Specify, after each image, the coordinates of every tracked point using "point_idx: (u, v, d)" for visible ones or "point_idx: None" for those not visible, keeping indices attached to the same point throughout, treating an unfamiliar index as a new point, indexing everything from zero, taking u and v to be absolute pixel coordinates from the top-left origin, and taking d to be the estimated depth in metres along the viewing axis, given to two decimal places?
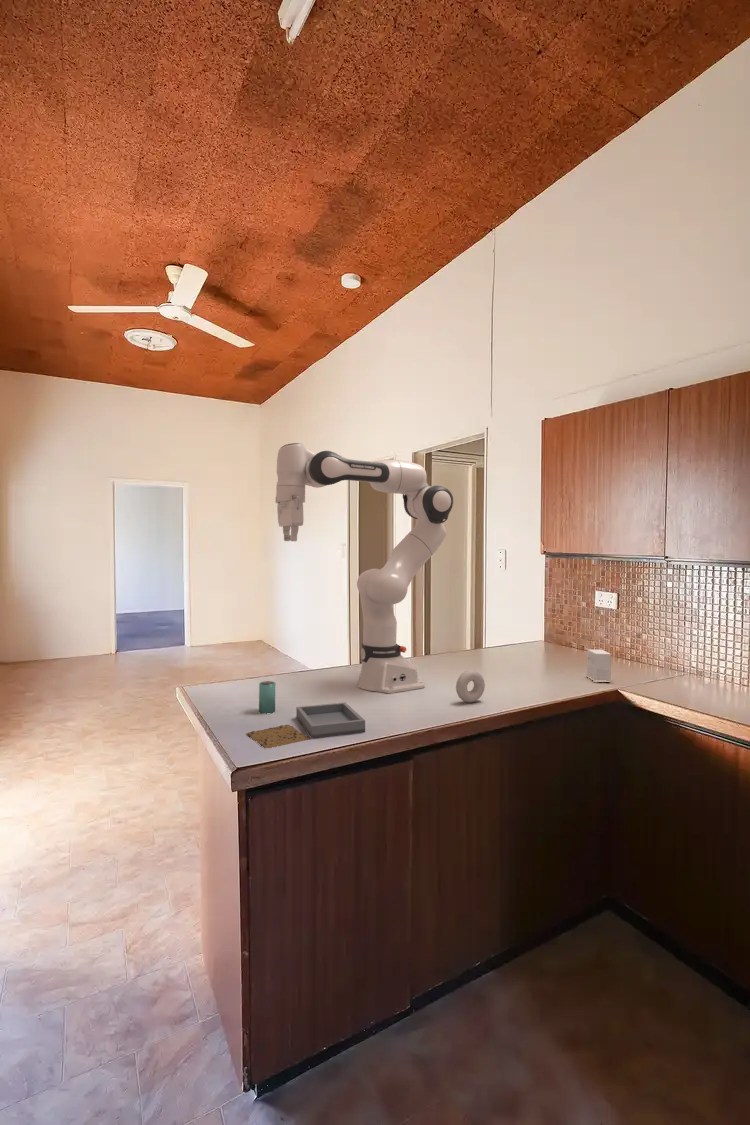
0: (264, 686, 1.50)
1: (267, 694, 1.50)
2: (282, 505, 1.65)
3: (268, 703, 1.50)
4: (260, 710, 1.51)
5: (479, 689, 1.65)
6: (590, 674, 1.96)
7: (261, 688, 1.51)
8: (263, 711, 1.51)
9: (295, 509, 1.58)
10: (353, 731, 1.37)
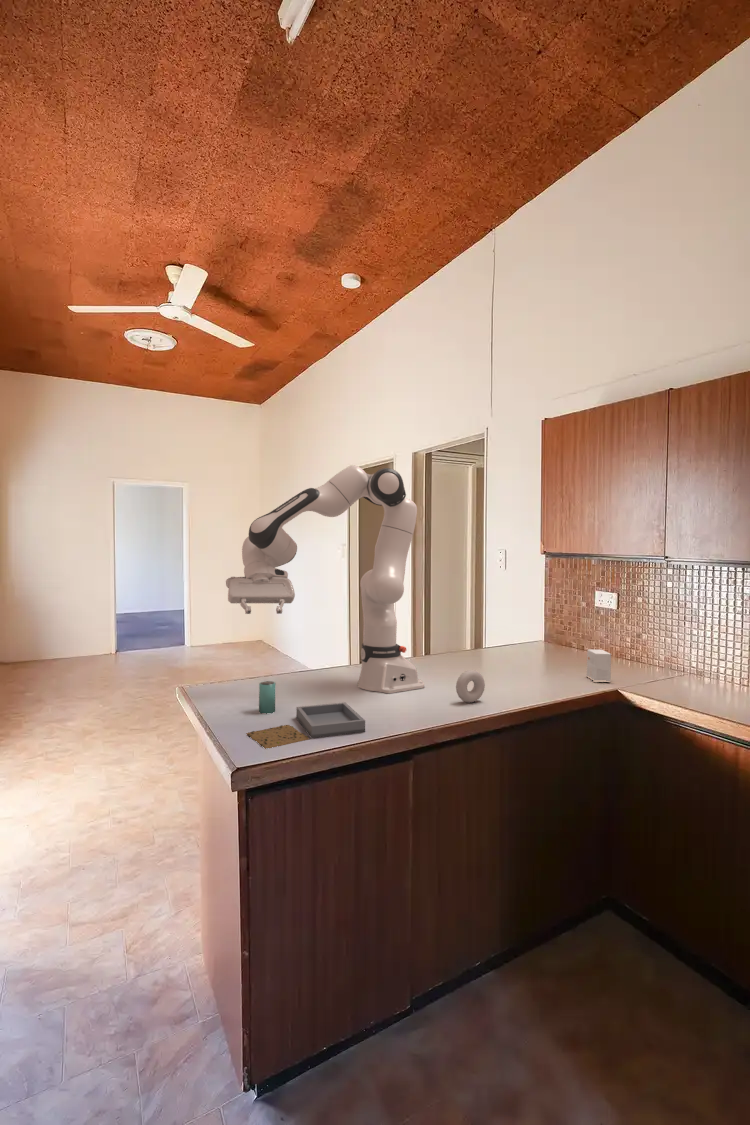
0: (264, 686, 1.50)
1: (267, 694, 1.50)
2: None
3: (268, 703, 1.50)
4: (260, 710, 1.51)
5: (479, 689, 1.65)
6: (590, 674, 1.96)
7: (261, 688, 1.51)
8: (263, 711, 1.51)
9: None
10: (353, 731, 1.37)
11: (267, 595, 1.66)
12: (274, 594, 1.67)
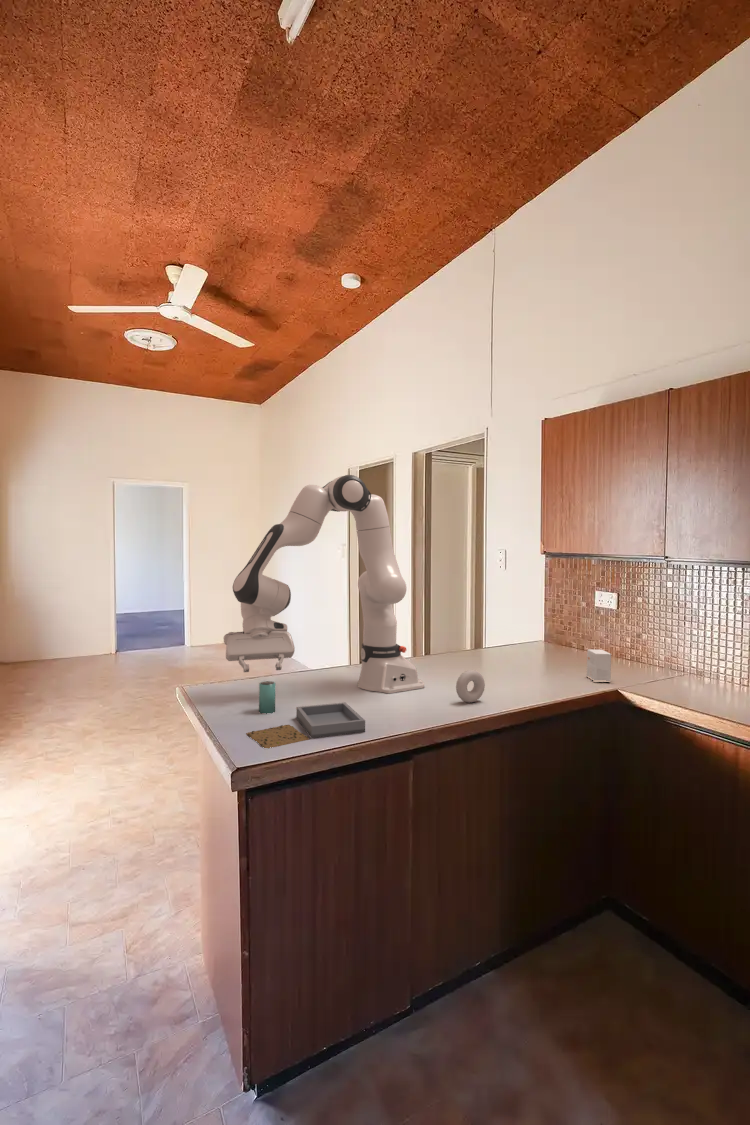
0: (264, 686, 1.50)
1: (267, 694, 1.50)
2: None
3: (268, 703, 1.50)
4: (260, 710, 1.51)
5: (479, 689, 1.65)
6: (590, 674, 1.96)
7: (261, 688, 1.51)
8: (263, 711, 1.51)
9: (226, 646, 1.61)
10: (353, 731, 1.37)
11: (266, 651, 1.61)
12: (273, 650, 1.62)
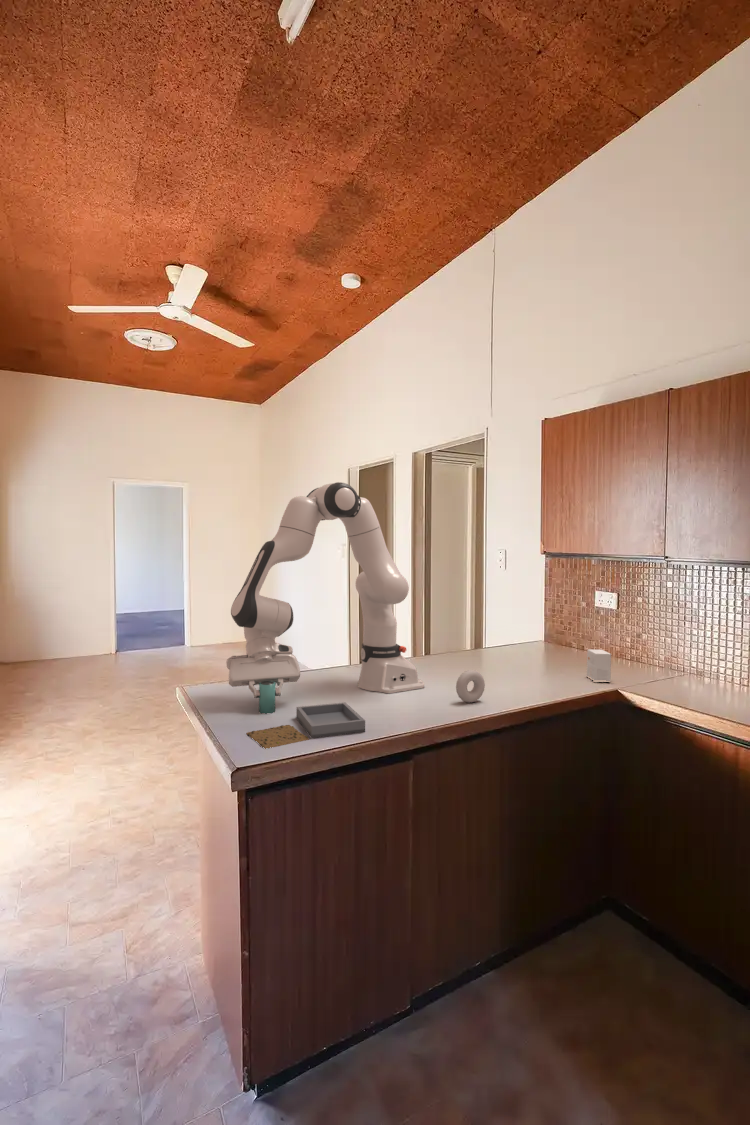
0: (264, 686, 1.50)
1: (267, 694, 1.50)
2: None
3: (268, 703, 1.50)
4: (260, 710, 1.51)
5: (479, 689, 1.65)
6: (590, 674, 1.96)
7: (261, 688, 1.51)
8: (263, 711, 1.50)
9: (229, 671, 1.55)
10: (353, 731, 1.37)
11: (270, 676, 1.54)
12: (278, 675, 1.55)
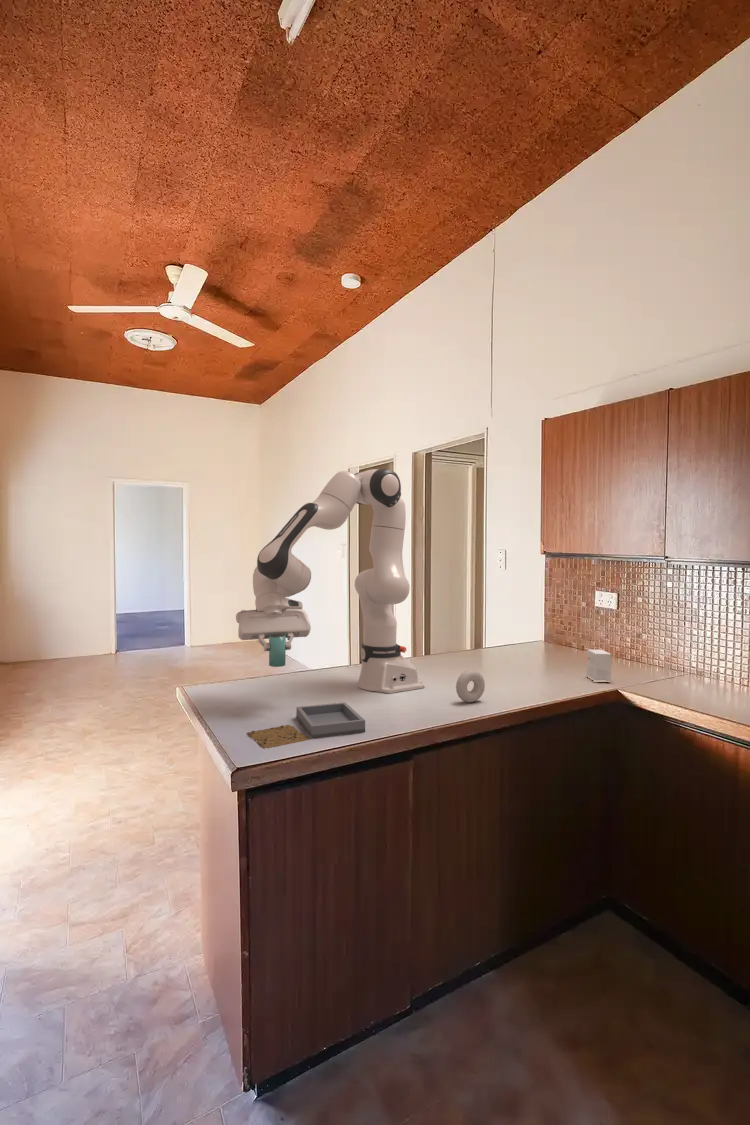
0: (274, 638, 1.48)
1: (277, 647, 1.48)
2: None
3: (278, 656, 1.49)
4: (270, 663, 1.49)
5: (479, 689, 1.65)
6: (590, 674, 1.96)
7: (271, 641, 1.49)
8: (273, 664, 1.49)
9: None
10: (353, 731, 1.37)
11: (280, 630, 1.52)
12: (288, 629, 1.53)
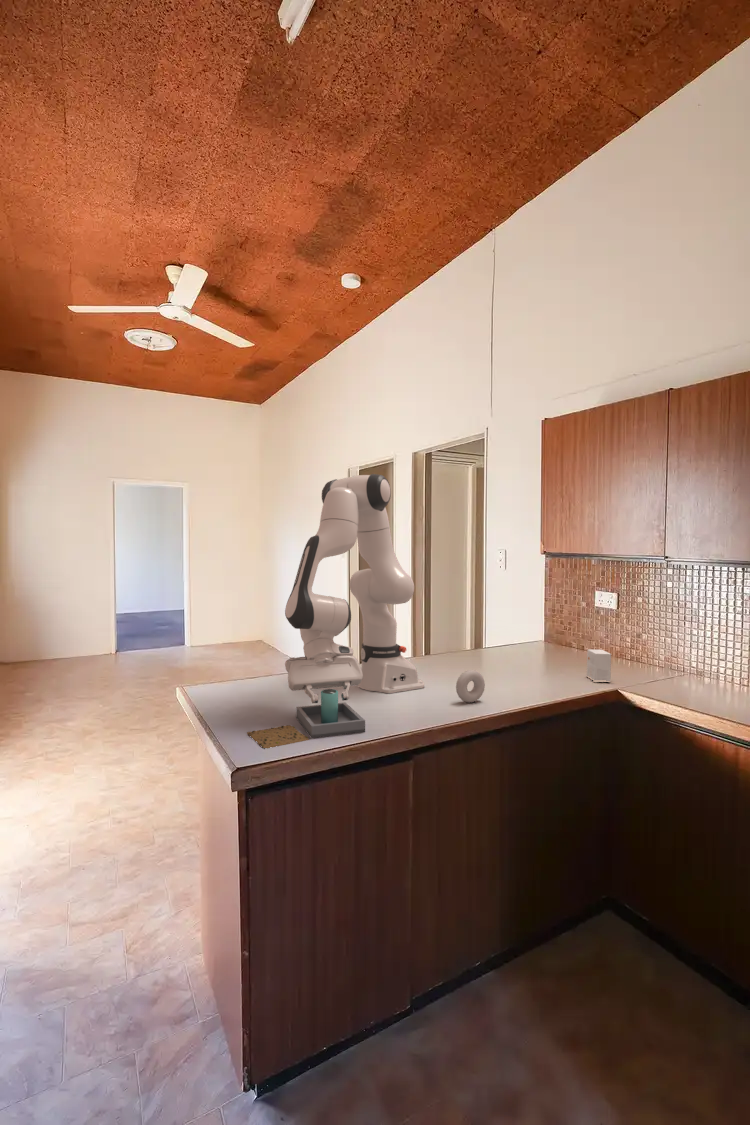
0: (327, 695, 1.40)
1: (330, 703, 1.40)
2: None
3: (332, 713, 1.41)
4: (323, 721, 1.41)
5: (479, 689, 1.65)
6: (590, 674, 1.96)
7: (324, 697, 1.41)
8: (326, 722, 1.41)
9: (288, 673, 1.45)
10: (353, 731, 1.37)
11: (333, 679, 1.44)
12: (340, 678, 1.45)
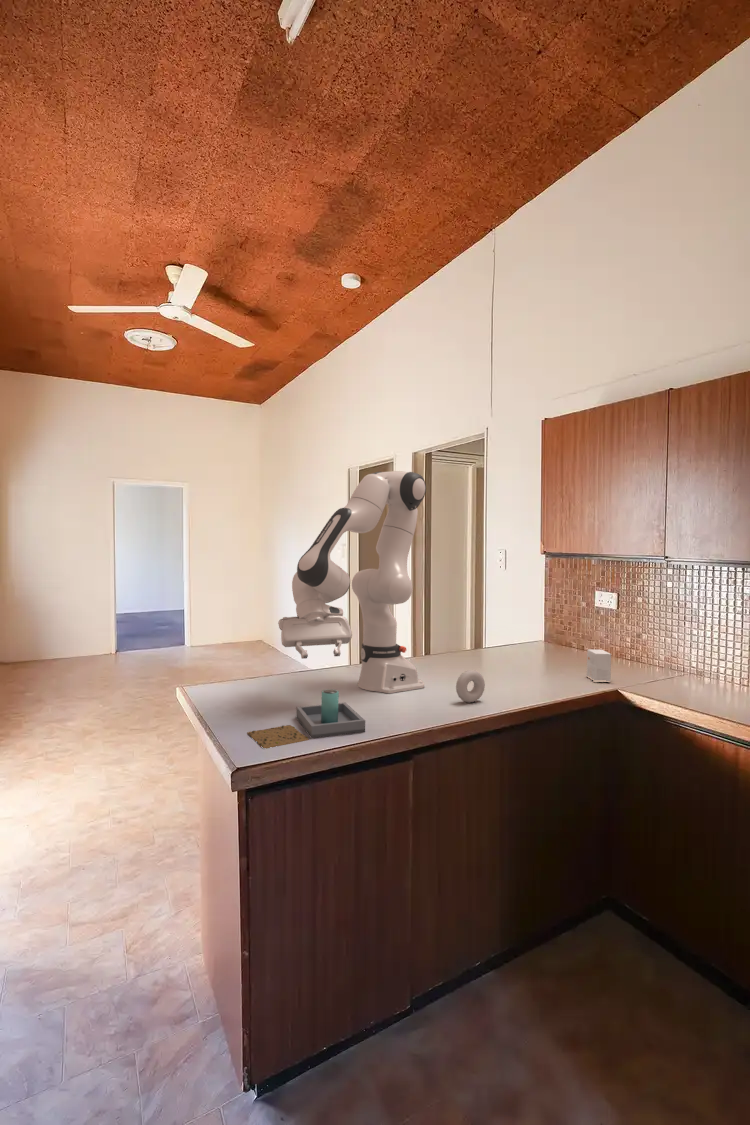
0: (328, 695, 1.40)
1: (331, 703, 1.40)
2: None
3: (332, 713, 1.41)
4: (323, 721, 1.41)
5: (479, 689, 1.65)
6: (590, 674, 1.96)
7: (324, 697, 1.41)
8: (326, 722, 1.41)
9: (281, 631, 1.53)
10: (353, 731, 1.37)
11: (323, 637, 1.53)
12: (330, 635, 1.54)
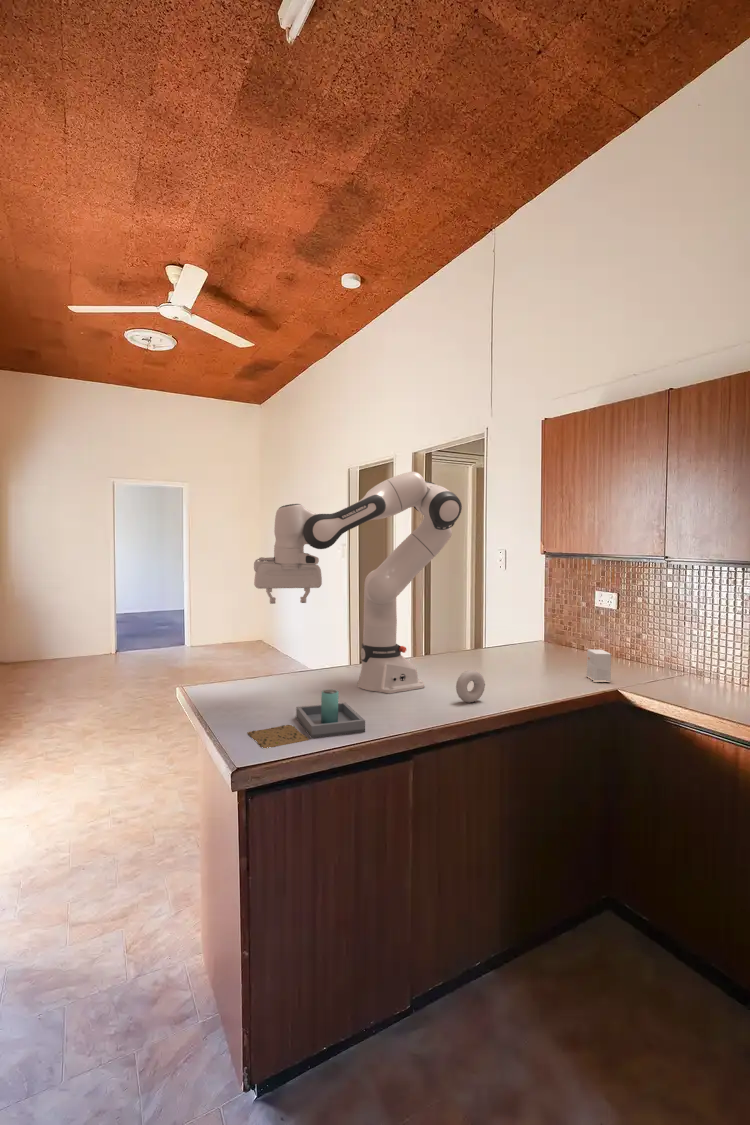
0: (327, 695, 1.40)
1: (331, 703, 1.40)
2: None
3: (332, 713, 1.41)
4: (323, 721, 1.41)
5: (479, 689, 1.65)
6: (590, 674, 1.96)
7: (324, 697, 1.41)
8: (326, 722, 1.41)
9: (255, 572, 1.61)
10: (353, 731, 1.37)
11: (293, 586, 1.63)
12: (300, 585, 1.64)
